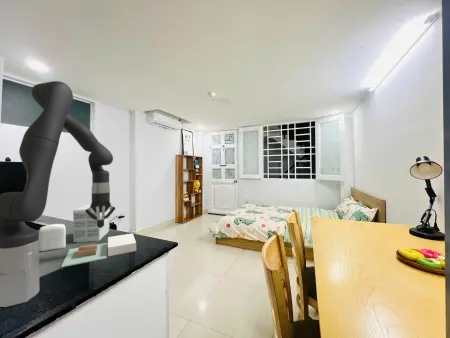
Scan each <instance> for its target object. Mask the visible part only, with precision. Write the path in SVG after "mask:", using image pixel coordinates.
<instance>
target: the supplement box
mask: <svg viewBox="0 0 450 338" xmlns="http://www.w3.org/2000/svg"><path fill="white" fill-rule="evenodd" d="M90 205H91V203H89V204H88V203H87V204H85V205H82V206H80V207H78V208H76V209H73V210H72V211H73V212H72V214H73V215H72V217H73V223H72V224H73V225H72V226H73V227H72V229H73V243H74V242H77V243H87V242H88V241H90V242H99V241H100V240H102V239H103V238H104V237H105V236H106V235H107V234H108V233H109V232H110V216H109V217H108V218H106V219H104V226H103V227H102V228H99V227H97V220H95V219H92V218H91V217H90V216H89V215H88V214H87V213H86V212H85V210H86V209H88V208H89V207H90ZM91 210H92V209H91ZM109 211H110V208H109V209H108V210H107V211H106V212H105V215H107V214H108V212H109ZM91 212H92V213H93V214H94V215H95V216H96V217H97V213H95V212H94V211H93V210H92V211H91ZM101 217H102V213H100V219H101ZM88 243H89V242H88Z"/></svg>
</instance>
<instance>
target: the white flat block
mask: <svg viewBox="0 0 450 338" xmlns="http://www.w3.org/2000/svg"><path fill="white" fill-rule="evenodd" d="M136 251H137V242H136V239H135V235H134V233H133V232H131V233H126V234H120V235H115V236H114V235H113V236H107V257H112V256H116V255H122V254H127V253H132V252H133V253H134V252H136Z"/></svg>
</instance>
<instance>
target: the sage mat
mask: <svg viewBox="0 0 450 338" xmlns="http://www.w3.org/2000/svg"><path fill="white" fill-rule="evenodd" d="M78 249H79V247H74V248H69V249H68V251H67V253H66V255H65V258H64V259H63V262H62V264H61V266H60V267H61V268H65V267H70V266H76V265H80V264H86V263H90V262H96V261H101V260H104V259H107V257H108V242H105V243H97V251H96V255H92V256H87V257H82V258H77V252H78Z"/></svg>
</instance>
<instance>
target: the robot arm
mask: <svg viewBox="0 0 450 338" xmlns="http://www.w3.org/2000/svg"><path fill="white" fill-rule="evenodd" d="M31 96H32V98H33V99H34V101H35V102H36V103H37V104H38V106H40V107H41V108H42V109H43V110H42V112H41V113H40V115H39V116H38V117H37V118H36V119H35V120H34V121H33V122H32V124H31V125H29V126H28V128H27V129H26V131H25V132H24V134H23V136H22V139H21V143H20V146H19V150H18V152H19V153H18V154H19V157H20V160H21V162H22V165H23V167H24V169H25V171H26V181H25V185H24V189H23V191H10V192H9V191H8V192H4V193H1V194H0V307H4V308H7V307H11V306H16V305H20V304H24V303H28V302H29V301H30V299H33V298H34V297H35V296H37V294H39V292H40V251H39V231H38V230H37V229H35V228H32V227H30V226H29V225H27V222H28V223H29V222H34V221H36V220H38V219H39V218H40V217H41V216H42V215H43V213H44V212H45V208H46V205H47V201H48V200H47V199H48V193H49V186H50V178H51V174H52V169H53V165H54V161H55V157H56V155H57V151H58V148H59V143H60V139H61V135H62V132H63V129H65V130H66V131H67V132H68V133H69V134H70V135H71V136H72V138H74V140H75V141H76V142H77V143H78V145H79V146H80V147H81V148H82V150H84V151H86V152H88V153H90V154H89V156H88V165H89V168H90V171H91V174H92V176H91V179H92V180H91V181H92V183H91V203H90V204H91V205H90V207H89V208H88V209H86V210H85V212H86V213H87V214H88V215H89V216H90V217H91V218H92V219H95V220H97V227H99V228H102V227H103V226H104V219H106V218H108V217H109V218H110V216H111V215H112V214H113V213H114V211H115V210H116V206H113V205H112V204H111V202H110V201H111V198H110V197H111V188H110V187H111V186H110V172H109V171H108V170H106V169H104V168H103V167H104V166H110V165H111V164H112V163H113V161H114V157H113V156H114V155H113V154H112V152H111V151H110V150H109V149H108V148H107V146H105V145H104V144H102V143H101V142H100V141H99V140H98V138H97V137H96V136H95V135H94V134H93V132H92V131H91V130H90V129H89V127H87V126H86V125H85V124H83V123H81V122H80V121H79V120H77V119H76V118H74V117H73V116H72V115H71V114H69V111H70V109H71V107H72V105H73V103H74V95H73V91H72V89H71V88H70V86H69V85H68V84H67V83H65V82H63V81H59V80H58V81H57V80H54V81H48V82H41V83H37V84H35V85H33V86H32V87H31ZM91 209H92V210H93V211H94V212H95V213H97V217H96V216H95V215H94V214H93V213H92V212H91V211H92V210H91ZM108 209H109V212H108V214H107V215H105V212H106V211H107V210H108ZM100 213H102V217H101V219H100Z"/></svg>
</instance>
